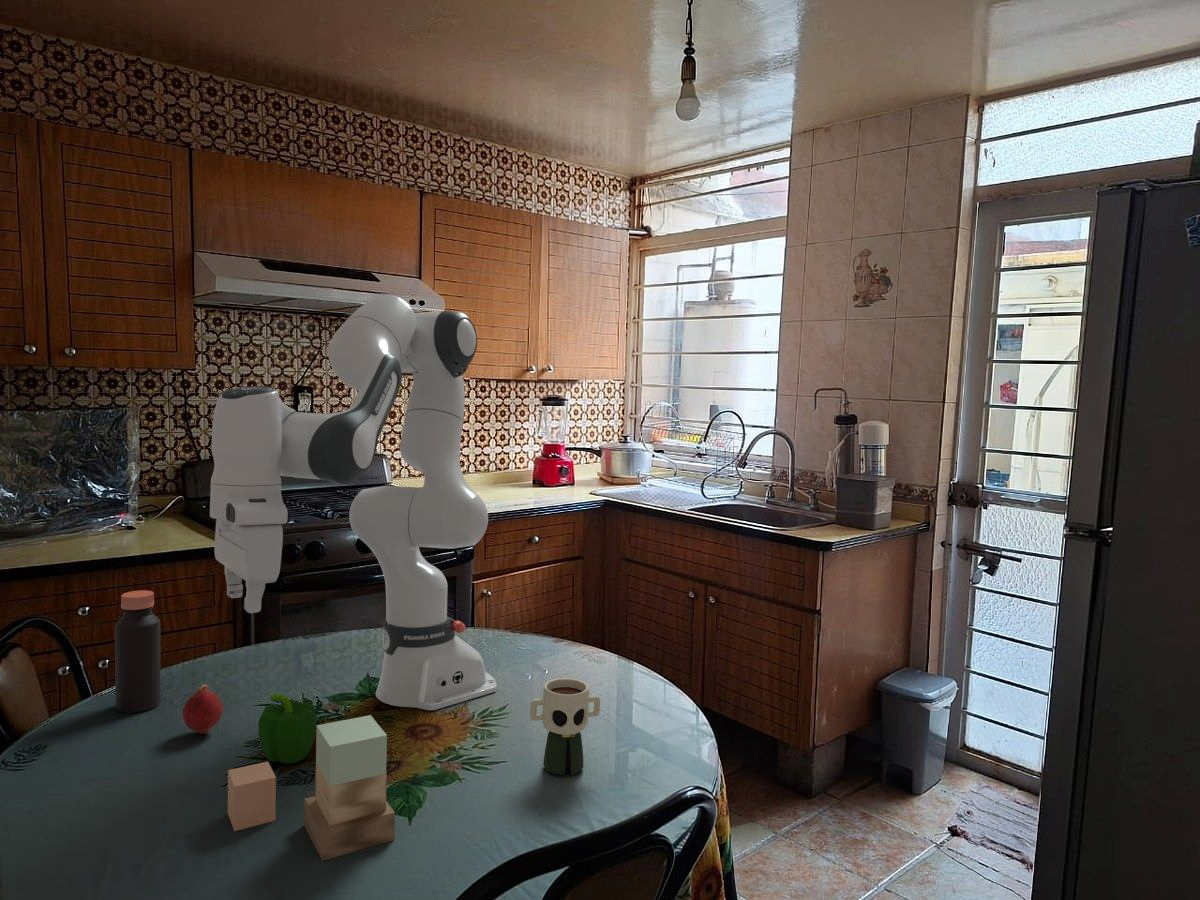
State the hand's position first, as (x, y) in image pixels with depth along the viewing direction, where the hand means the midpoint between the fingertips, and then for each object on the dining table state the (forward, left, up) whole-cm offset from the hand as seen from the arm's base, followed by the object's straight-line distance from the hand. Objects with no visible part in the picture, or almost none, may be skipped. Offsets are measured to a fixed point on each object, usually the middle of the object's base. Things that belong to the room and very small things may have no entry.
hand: (243, 604), depth 108 cm
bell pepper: (-8, -8, -27) cm, 29 cm away
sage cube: (-10, +17, -18) cm, 27 cm away
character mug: (-43, +16, -27) cm, 53 cm away
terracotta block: (0, +7, -27) cm, 28 cm away
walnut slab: (-10, +17, -27) cm, 34 cm away
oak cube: (-10, +17, -23) cm, 31 cm away
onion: (+2, -23, -27) cm, 36 cm away
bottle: (+10, -40, -27) cm, 49 cm away
